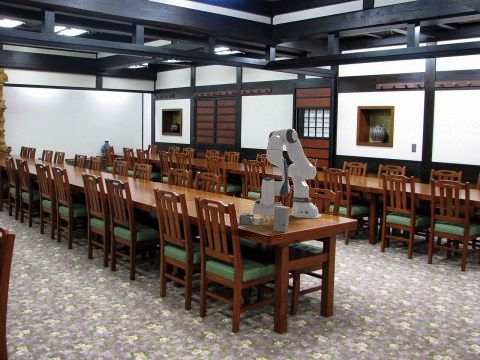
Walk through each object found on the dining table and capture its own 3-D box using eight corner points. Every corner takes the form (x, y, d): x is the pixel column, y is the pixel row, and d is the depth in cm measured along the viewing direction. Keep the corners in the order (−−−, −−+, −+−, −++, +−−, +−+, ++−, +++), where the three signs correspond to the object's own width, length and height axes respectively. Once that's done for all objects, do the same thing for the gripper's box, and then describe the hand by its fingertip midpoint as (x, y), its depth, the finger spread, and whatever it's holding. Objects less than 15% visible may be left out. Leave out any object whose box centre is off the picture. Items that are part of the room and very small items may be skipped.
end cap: (253, 222, 349) (253, 213, 349) (249, 224, 341) (249, 215, 340) (243, 221, 352) (244, 212, 351) (239, 223, 343) (239, 214, 343)
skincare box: (272, 231, 322) (273, 206, 320) (276, 229, 328) (277, 205, 327) (285, 232, 319) (286, 207, 317) (289, 230, 325) (289, 206, 323)
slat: (242, 223, 345) (242, 217, 345) (244, 222, 349) (244, 216, 348) (262, 225, 340) (262, 219, 340) (263, 224, 344) (264, 218, 343)
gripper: (284, 201, 339) (283, 222, 340) (255, 199, 346) (254, 219, 348) (281, 203, 333) (280, 223, 335) (252, 201, 340) (251, 221, 342)
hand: (267, 221), depth 341 cm, fingers closed
